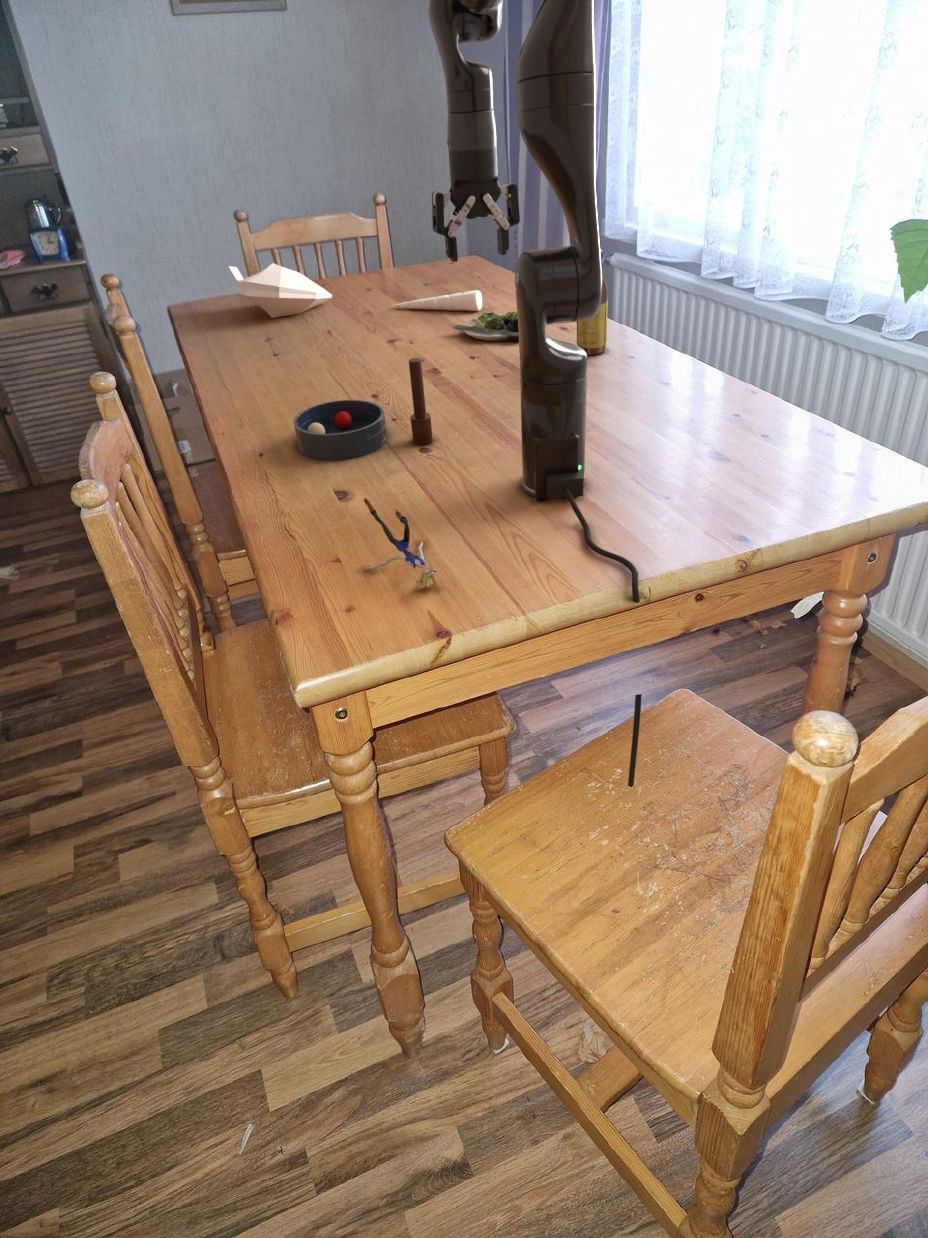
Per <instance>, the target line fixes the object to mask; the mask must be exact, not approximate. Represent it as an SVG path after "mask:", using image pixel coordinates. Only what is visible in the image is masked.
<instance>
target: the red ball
mask: <svg viewBox="0 0 928 1238" xmlns="http://www.w3.org/2000/svg"><path fill="white" fill-rule="evenodd" d="M335 423H336V425H337V426H338V427H339V428H341V429H346V428H348V427H349V426H350V425H351V423H352V418H351V416H350V414H349V413H347V412H345V411H341V412H339V413H337V415H336V416H335Z"/></svg>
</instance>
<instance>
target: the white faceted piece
mask: <svg viewBox="0 0 928 1238" xmlns="http://www.w3.org/2000/svg"><path fill="white" fill-rule="evenodd" d="M228 269H229V271H231V274H232V276H233V278H234V279H235V280H236V286H237V288H236V293H237V294H239V295H240V296H242V297H244V298H245V299H247V300H249V301H250V302H252V303H253V304H255V305H257V306H258V307H260V309H262V310H264V311H265V312H266V313H267V315H268V316H270V318H272V319H274V318H280V317H286V316H293V315H299V314H301V313H304V312H305V311H307V310H310V309H312V308H315V307H316V306H318V305H320V304H322V303H325V302H326V301H329V300H330V299H333V294H332V293H330V292H329V291H327V290H326V289H325V288H324V287H323V286H320V285H319V284H317V283H316V282H314V281H313V280H311V279H310V278H308V277H307V276H306V275H304V274H303V273H301V272H300V271H296V270H294V269H290V268H287V267H284V266H280V265H278V264H276V263H274V262H272V263H271V264H269V266H267V267H266V268H265V269H263V270H261V271H259V272H257V273H255V274H252V275H250V276H248V277H243V276H242V273H241V272H240V270H239V268H238V266H231V265H229V266H228Z"/></svg>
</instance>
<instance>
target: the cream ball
mask: <svg viewBox="0 0 928 1238" xmlns="http://www.w3.org/2000/svg"><path fill="white" fill-rule="evenodd" d="M307 432H312V433H317V434H325V429H324V427H323V426H322V425H321V424H320V423H312V424H310V425H309V427H308V430H307Z"/></svg>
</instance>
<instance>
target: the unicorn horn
mask: <svg viewBox="0 0 928 1238" xmlns="http://www.w3.org/2000/svg"><path fill="white" fill-rule="evenodd" d="M392 307H393V308H396V309H397V308H398V309H408V310H429V311H430V310H432V311H433V310H434V311H455V312H456V311H457V312H460V311H461V312H466V311H467V312H480V311H481V310H482V308H483V295H482V292H481V290H479V289H474V290H470V291H469V290H468V291H464V292H457V293H450V294H445V295H444V294H443V295H437V296H431V297H425V298H419V299H414V300H411V301H409V300H408V301H404V302H399V303H395V304H393V305H392Z"/></svg>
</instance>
